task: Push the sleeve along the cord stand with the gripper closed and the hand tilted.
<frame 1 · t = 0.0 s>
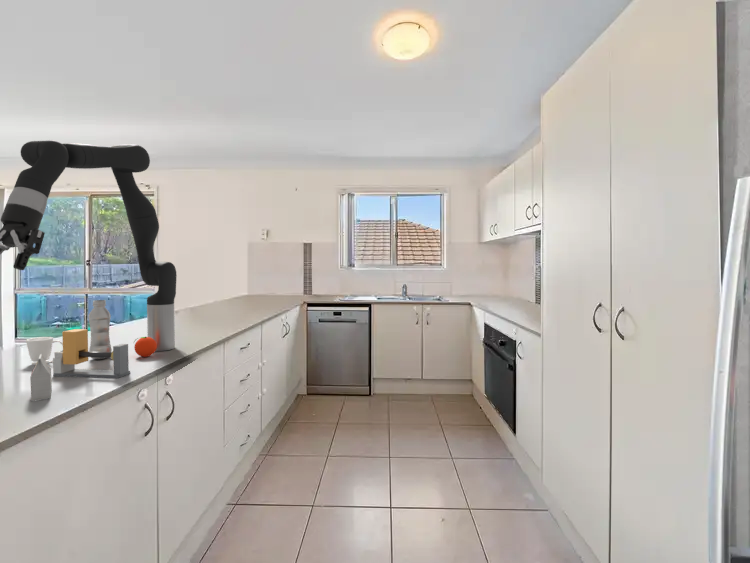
hand: (3, 269, 101), 31 cm above the table, tool tilted 20°, fingers open, 8 cm apart
clementine: (144, 357, 146), on the table
plastic bottle: (100, 359, 142), on the table
milk carton: (41, 397, 103), on the table
sleeve: (75, 346, 122), point 8 cm above the table, slide at 0.0 cm
cord stand: (92, 374, 123), on the table
cup: (46, 363, 136), on the table
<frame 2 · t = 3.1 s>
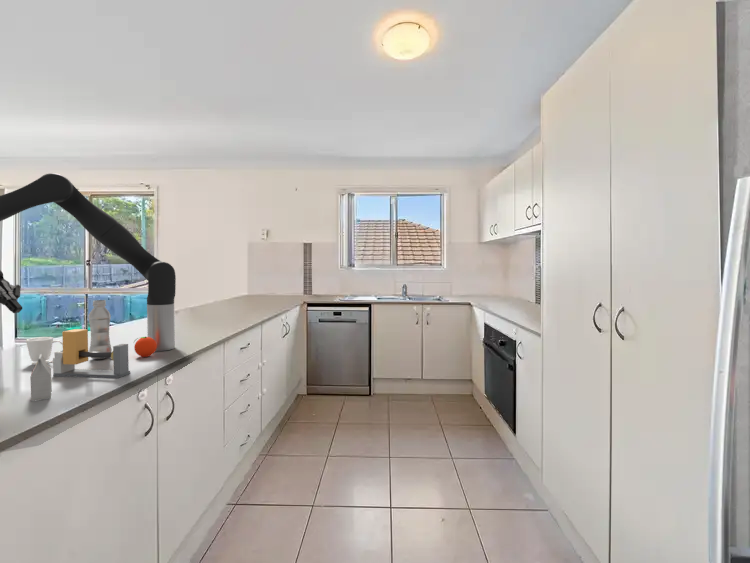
hand: (18, 310, 123), 18 cm above the table, tool tilted 45°, fingers closed
nothing on the table moved.
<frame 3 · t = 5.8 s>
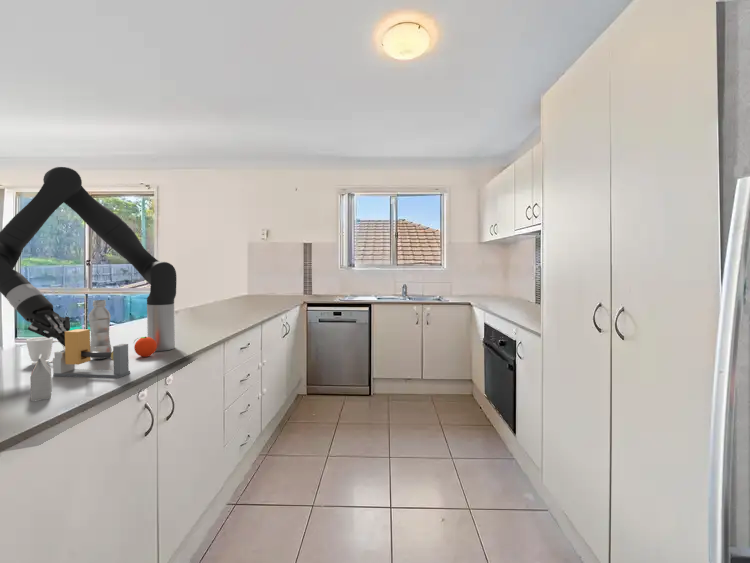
hand: (69, 344, 123), 9 cm above the table, tool tilted 45°, fingers closed
sleeve: (77, 346, 122), point 8 cm above the table, slide at 0.7 cm, touching gripper
everything else where it was.
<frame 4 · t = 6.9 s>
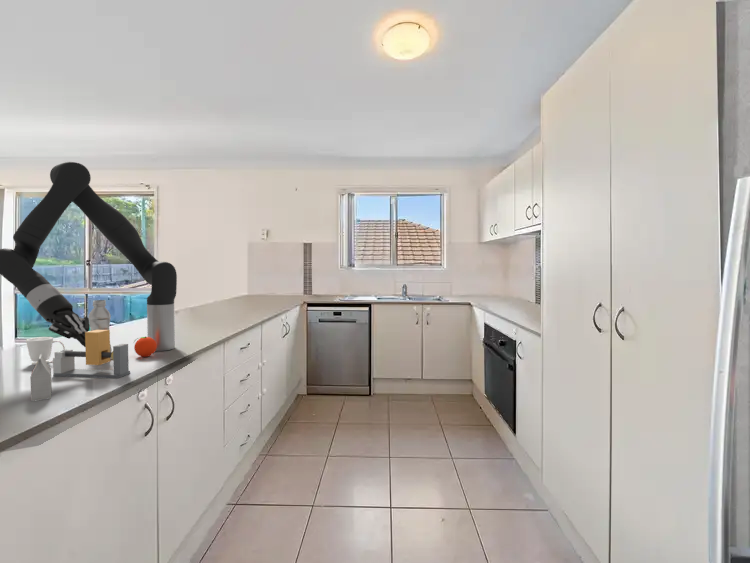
hand: (89, 344, 122), 9 cm above the table, tool tilted 45°, fingers closed
sleeve: (97, 347, 122), point 8 cm above the table, slide at 7.0 cm, touching gripper
everything else where it was.
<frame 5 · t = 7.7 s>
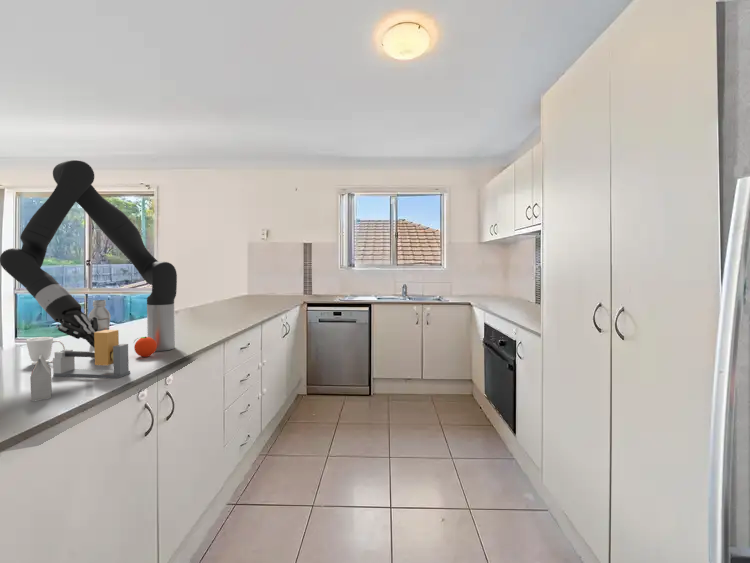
hand: (98, 345, 122), 9 cm above the table, tool tilted 45°, fingers closed
sleeve: (106, 347, 122), point 8 cm above the table, slide at 9.7 cm, touching gripper
everything else where it was.
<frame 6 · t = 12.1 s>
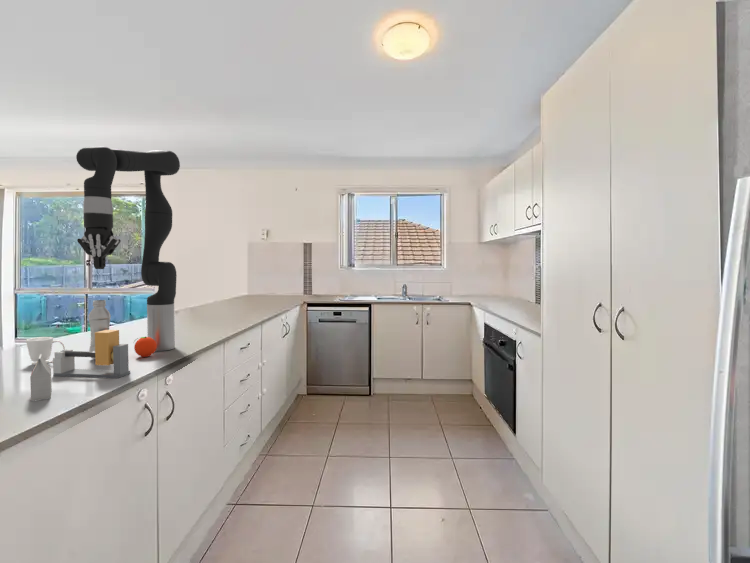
hand: (99, 269, 129), 31 cm above the table, tool pointing down, fingers closed
sleeve: (107, 347, 122), point 8 cm above the table, slide at 9.9 cm
everything else where it was.
at the end: sleeve slide at 9.9 cm; the gripper is holding nothing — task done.
